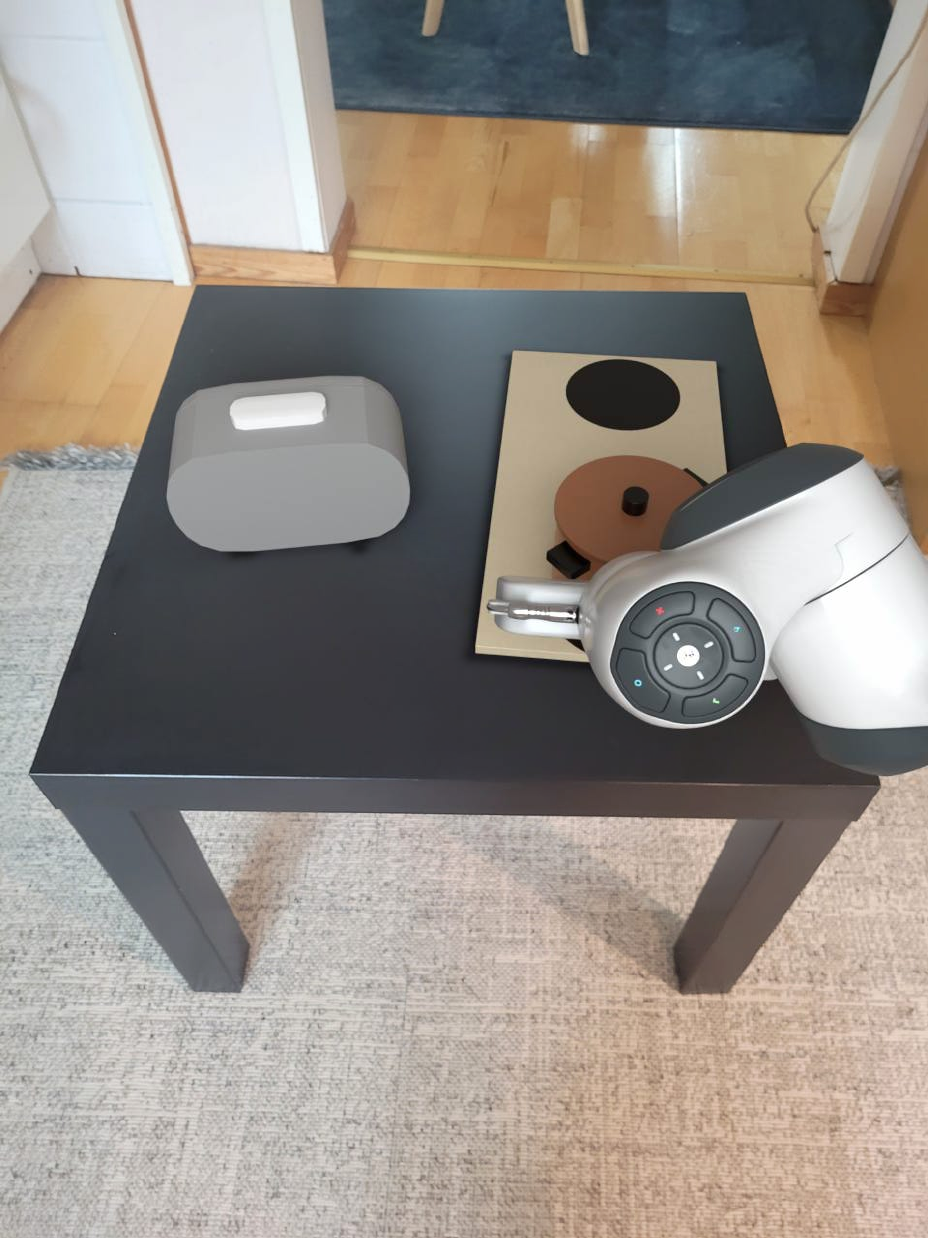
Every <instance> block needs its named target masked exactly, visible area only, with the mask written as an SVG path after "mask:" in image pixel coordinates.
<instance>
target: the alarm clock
mask: <svg viewBox="0 0 928 1238" xmlns="http://www.w3.org/2000/svg"><path fill="white" fill-rule="evenodd" d="M172 435H173V436H172V437H173V438H172V443H171V454H170V462H169V471H168V479H167V490H166V501H167V506H168V511H169V513H170V515H171V517H172V519H173V521H174V523H175V525H176V526H177V527H178V529H180V531H181V532H182V533H183V534H184V535H185V536H186V538H188V539H189V540H191V541H193V542H194V543H196V544H197V545H199V546H201V547H205V548H208V549H212V550H215V551H217V552H260V551H273V550H281V549H292V548H303V547H304V548H305V547H312V546H313V547H314V546H324V545H334V544H345V543H346V544H347V543H351V542H357V541H361V540H367V539H373V538H378V537H381V536H383V535H384V534H386V533H388V532H390V531H391V530H393V529H395V528H396V527H397V526H398V525H399V524H400V522H401V521H402V520H403V519H404V517H405V516H406V513H407V510H408V508H409V505H410V499H411V498H410V497H411V485H410V478H409V468H408V462H407V461H408V460H407V453H406V445H405V444H406V443H405V437H404V436H405V435H404V427H403V421H402V415H401V412H400V408H399V406H398V404H397V402H396V401H395V399H394V397H393V395H392V393H390V391H388V389H386V388H385V387H384V386H383V385H382V384H381V383H379V382H377V381H374V380H372V379H370V378H367V377H365V376H363V375H320V376H307V377H296V378H283V379H272V380H271V379H270V380H261V381H258V380H257V381H250V382H249V381H246V382H236V383H235V382H233V383H228V384H223V385H217V386H212V387H207V388H201V389H198V390H196V391H195V392H193V393H192V394H190V395H189V396H187V398H185V399H184V400H183V401H182V403H181V404H180V407H178V410H177V411H176V413H175V419H174V428H173V434H172Z"/></svg>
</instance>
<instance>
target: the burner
mask: <svg viewBox="0 0 928 1238" xmlns="http://www.w3.org/2000/svg"><path fill="white" fill-rule="evenodd" d="M566 398H567V401H568V403H569V405H570V406H571V408H572V409H573V410H574V411H575V412H576V413H577V414H578V415H579V416H581V417H582V418H584V419H585V420H587V421H589V422H591V423H593V424H595V425H598V426H601V427H604V428H608V429H614V430H622V431H633V430H642V429H647V428H651V427H654V426H657V425H659V424H661V423H663V422H665V421H667V420H668V419H669V418H670V417H672V416H673V415H674V413H675V412H676V411H677V409H678V407H679V404H680V392H679V389H678V387H677V385H676V383H675V382H674V381H673V380H672V378H671V377H669V376H668V375H667V374H666V373H664V372H663V371H661V370H660V369H658V368H656V367H654V366H652V365H649V364H646V363H643V362H639V361H634V360H627V359H608V360H602V361H597V362H594V363H591V364H588V365H586V366H584V367H582V368H581V369H579V370H578V371H576V372H575V373H574V374H573V375H572V376H571V378H570V379H569V381H568V383H567V385H566Z"/></svg>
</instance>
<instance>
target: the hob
mask: <svg viewBox="0 0 928 1238" xmlns="http://www.w3.org/2000/svg"><path fill="white" fill-rule="evenodd" d="M608 359H627V360H634V361H639V362H643V363H646V364H649V365H652V366H654V367H656V368H658V369H660V370H661V371H663V372H664V373H666V374H667V375H668V376H669V377H671V378H672V380H673V381H674V382H675V383H676V385H677V387H678V389H679V392H680V404H679V407H678V409H677V411H676V412H675V413H674V415H673V416H672V417H670V418H669V419H668V420H667V421H665V422H663V423H661V424H659V425H657V426H654V427H651V428H647V429H642V430H633V431H622V430H614V429H608V428H604V427H601V426H598V425H595V424H593V423H591V422H589V421H587V420H585V419H584V418H582V417H581V416H579V415H578V414H577V413H576V412H575V411H574V410H573V409H572V408H571V406H570V405H569V403H568V401H567V398H566V385H567V383H568V381H569V379H570V378H571V376H572V375H573V374H574V373H575V372H576V371H578V370H579V369H581V368H582V367H584V366H586V365H588V364H591V363H594V362H597V361H602V360H608ZM510 362H511V365H510V371H509V378H508V379H509V380H508V387H507V394H506V403H505V409H504V418H503V425H502V434H501V442H500V450H499V456H498V457H499V458H498V465H497V473H496V480H495V489H494V496H493V504H492V511H491V512H492V513H491V519H490V520H491V521H490V527H489V528H490V529H489V535H488V543H487V552H486V558H485V559H486V560H485V567H484V576H483V582H482V583H483V584H482V593H481V597H480V598H481V599H480V607H479V615H478V621H477V629H476V637H475V638H476V639H475V644H474V645H475V647H474V648H475V649H474V650H475V654H482V655H495V656H506V657H520V658H530V659H531V658H533V659H546V660H557V661H569V662H580V663H581V662H582V663H590V662H589V660H588V657H587V655H586V653H585V652H583V651H581V650H580V649H578V648H577V647H575V646H573V645H572V644H571V643H570V642H568V641H567V640H566V639H565V638H552V637H539V636H528V635H521V634H515V633H509V632H505V631H503V630H501V629H500V628H498V626H497V625H496V624H495V621H494V616H495V614H490V613H488V609H487V607H486V606H487V604H488V601H489V600H490V599H495V598H496V587H497V579H498V578H499V577H500V576H508V575H513V576H529V577H543V578H552V564H550V563H549V562H548V561H547V560H546V554H547V551H548V550H550V549H552V548H553V547H554V543H555V532H556V521H555V516H554V502H555V496H556V493H557V491H558V488H559V487H560V485H561V483H562V482H563V481H564V479H565V478H566V477H567V476H568V475H569V474H570V473H571V472H573V471H574V470H575V469H577V468H578V467H580V466H582V465H584V464H586V463H588V462H591V461H594V460H596V459H600V458H604V457H610V456H619V455H635V456H643V457H649V458H654V459H657V460H661V461H664V462H667V463H669V464H672V465H674V466H676V467H678V468H680V469H682V470H683V469H685V468H688V469H689V470H691V471H692V472H693V473H695V474H696V475H698V476H699V477H700V478H702V479H703V480H705V481H706V482H707V483H711V482H713V481H714V480H716V479H718V478H719V477H721V476H723V475H724V474H726V473H728V470H727V461H726V460H727V459H726V450H725V441H724V440H725V438H724V430H723V420H722V410H721V409H722V407H721V400H720V390H719V389H720V388H719V378H718V367H717V361H715V360H696V359H680V358H679V359H678V358H661V357H660V358H659V357H644V356H643V357H640V356H623V355H622V356H621V355H620V356H619V355H604V354H587V353H585V354H584V353H566V352H552V351H551V352H549V351H546V352H545V351H533V350H531V351H530V350H515V349H514V350H512V355H511V361H510Z"/></svg>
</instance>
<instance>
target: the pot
mask: <svg viewBox="0 0 928 1238" xmlns="http://www.w3.org/2000/svg"><path fill="white" fill-rule="evenodd" d="M708 484H709V483H707V482H706V481H705V480H703V479H702V478H700V477H699V476H698V475H696V474H695V473H693V472H692V471H691V470H689V469H688V468H685V469H683V470H682V469H680V468H678V467H676V466H674V465H672V464H669V463H667V462H664V461H661V460H657V459H654V458H649V457H643V456H635V455H619V456H610V457H604V458H600V459H596V460H594V461H591V462H588V463H586V464H584V465H582V466H580V467H578V468H577V469H575V470H574V471H573V472H571V473H570V474H569V475H568V476H567V477H566V478H565V479H564V481H563V482H562V483H561V485H560V487H559V488H558V491H557V493H556V496H555V502H554V516H555V521H556V532H555V543H554V547H553V548H552V549H550V550H548V551H547V554H546V560H547V561H548V562H549V563H550V564H552V578H557V579H571V580H585V581H590V579H591V578H592V577H593V576H594V574H595V573H596V572H597V571H598V570H599V569H600V568H601V567H603V566H604V565H605V564H607V563H608V562H610V561H611V560H613V559H615V558H617V557H619V556H622V555H625V554H628V553H632V552H638V551H655V552H660V551H661V549H660V548H659V547H660V542H661V538H662V535H663V532H664V529H665V527H666V525H667V522H668V520H669V518H670V516H671V514H672V512H673V511H674V510H675V509H676V508H677V507H678V506H679V505H681V504H682V503H683V502H684V501H686V500H687V499H688V498H689V497H691V496H692V495H693V494H695V493H696V492H698V491H699V490H700V489H702V488H703V487H705V486H706V485H708Z"/></svg>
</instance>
